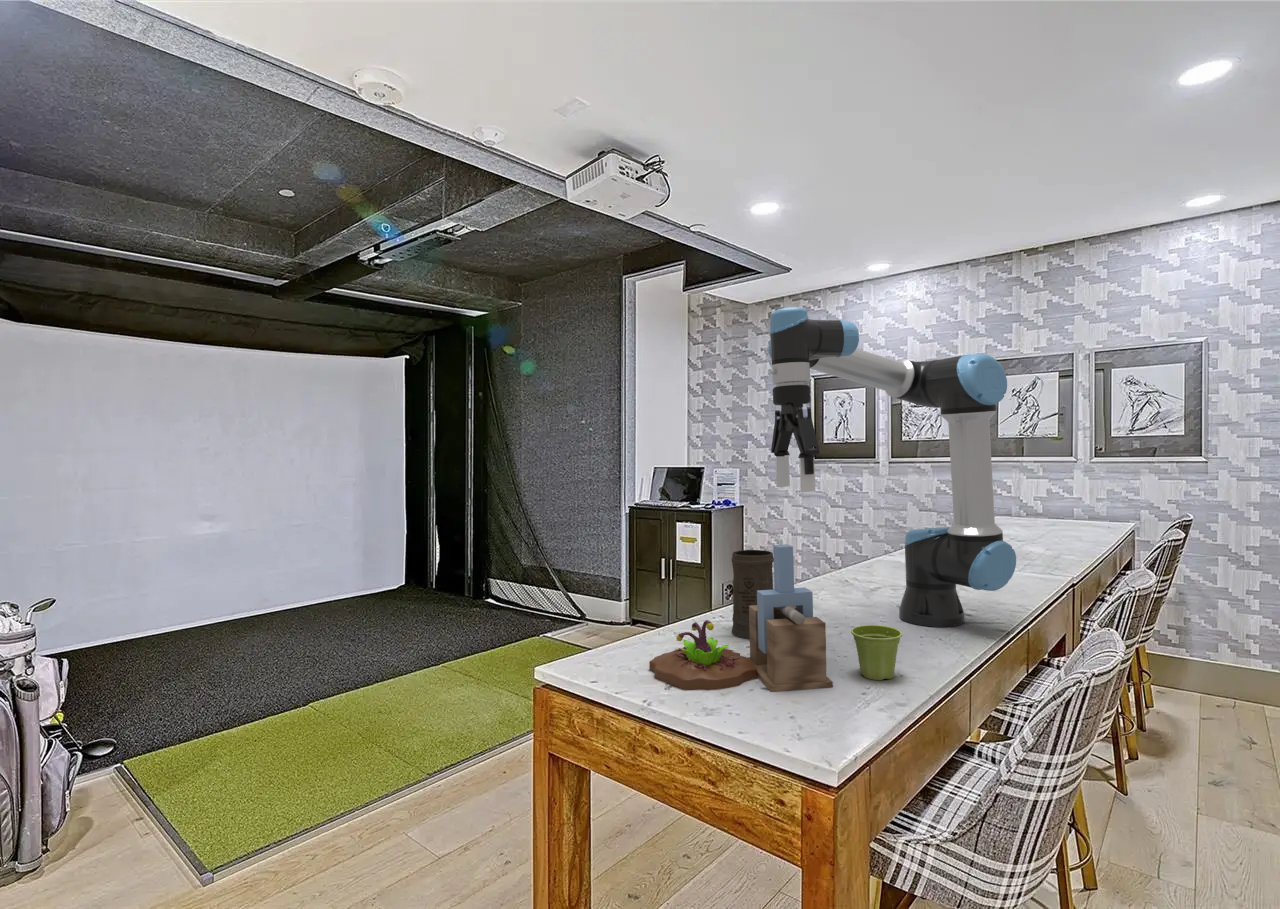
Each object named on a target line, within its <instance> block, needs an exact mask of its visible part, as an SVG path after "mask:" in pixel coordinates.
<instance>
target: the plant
mask: <svg viewBox="0 0 1280 909" xmlns="http://www.w3.org/2000/svg"><path fill="white" fill-rule="evenodd" d="M706 628H707V629H706ZM714 628H715V627H714V624H713V622H712V621H710V620H709V619H708V620H707V619H706V620H705V621H703V623H702V626H700V624H698V622H696V621H695V622H693V623H692V624H691V630H693V631H697V632H698V636H696V635H695V634H693V633H692V632H690V631H688V632H687V631H685V632H681V633H678V634H677V635H676V641H677V642H682V643H683V647H681V648H680V647H678V648H675V649H674V650H672V651H670V652H664V653H663V654H660V655H657V656H655V657H654V658H652V659H651V660H649V662H648V664H649V667H648V669H649V670H648V671H650V672H653V673H654V678H655V679H657V680H658V681H661V682H663V683H665V684H668V685H671V686H673V687H675V688H677V689H681V690H684V691H696V690H697V691H699V690H702V691H703V690H704V691H715V690H717V691H718V690H723V689H729V688H734V687H739V686H741V685H742V684H744V683H745V682H748V681H751V680H757V679H758V677H757V669H756V667H755V666H754V664H753V663H751V662H750V661H749V659H748V658H747V657H748V656H743V655H741V653H739V652H735V651H733V650H731V649H729V648H728V647H729V644H724V645H722V646H718V643H719V640H718V639H715V638H714V637H709V638H707V633H706V632H707V630H708V631H713V630H714ZM684 636H689V637H690V638H692V639H693V642H692V641H690V640H687V639H684ZM727 648H728V649H727Z"/></svg>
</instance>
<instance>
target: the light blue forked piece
mask: <svg viewBox="0 0 1280 909" xmlns="http://www.w3.org/2000/svg"><path fill="white" fill-rule="evenodd" d="M772 547H773V548H772V550H773V551H772V553H773V558H774V561H773V590H759V591H757V612H758V644H759V649H760V650H761V651H762V652H763V653H764V654H767V634H766V620H772V619H774V611H773V607H783V606H796V611H798V612H799V613H801V614H802V615H804V617H814V600H813V599H814V598H813V591H812V590H810V589H809V588H806V587H795V573H794V571H795V570H794V569H795V568H794V546H793V545H791V544H788V543H787V544H786V543H785V544H784V543H783V544H773V545H772Z"/></svg>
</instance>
